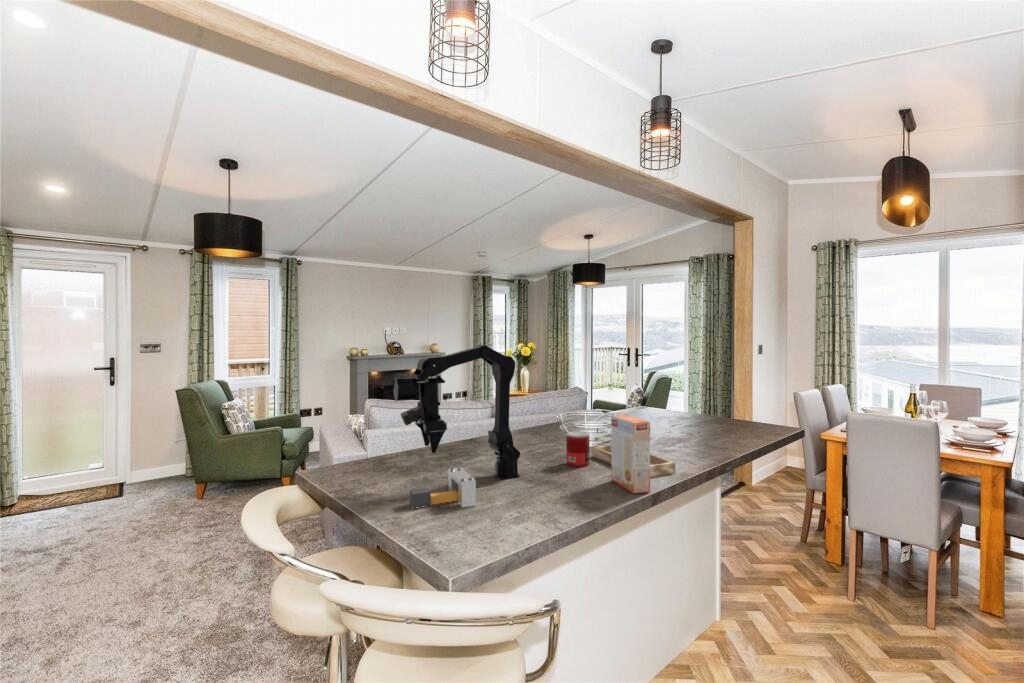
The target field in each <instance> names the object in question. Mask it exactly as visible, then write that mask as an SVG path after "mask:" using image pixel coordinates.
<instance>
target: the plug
mask: <svg viewBox="0 0 1024 683" xmlns="http://www.w3.org/2000/svg"><path fill="white" fill-rule="evenodd" d="M452 501H455V502H458V486H455V490H453V491H449V490H448V491H441V492H434V493H432V492H431V490H430V489H429V488H428V487H421V488H420V487H419V488H415V489H409V504H411V505H410V507H411V506H412V507H413V508H416V507H422V506H429V507H431V506H432V505H431V504H435V505H439V504H438V503H442V504H445V503H444V502H449V503H453V502H452ZM412 507H411V508H412ZM416 509H417V508H416Z"/></svg>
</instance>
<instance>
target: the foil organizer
mask: <svg viewBox="0 0 1024 683" xmlns="http://www.w3.org/2000/svg"><path fill="white" fill-rule="evenodd" d="M592 457H594V458H595V459H598V460H600V461H603V462H605V463H607V464H609V465H612V444H608V445H599V446H592ZM672 474H676V462H675V461H671V460H670V459H666V458H663V457H660V456H657V455H655V454H652V453H650V478H653V477H659V476H665V475H672Z"/></svg>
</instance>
